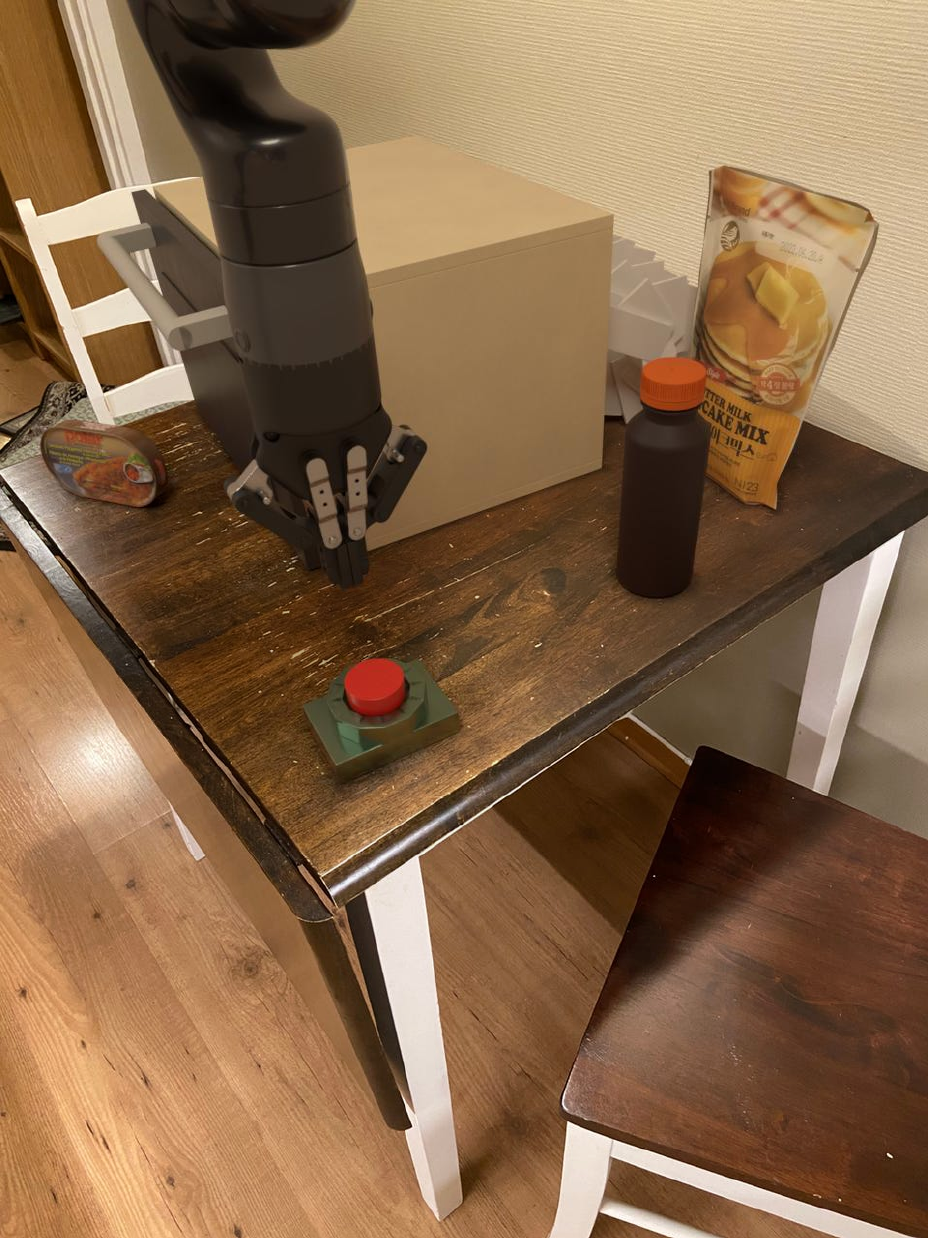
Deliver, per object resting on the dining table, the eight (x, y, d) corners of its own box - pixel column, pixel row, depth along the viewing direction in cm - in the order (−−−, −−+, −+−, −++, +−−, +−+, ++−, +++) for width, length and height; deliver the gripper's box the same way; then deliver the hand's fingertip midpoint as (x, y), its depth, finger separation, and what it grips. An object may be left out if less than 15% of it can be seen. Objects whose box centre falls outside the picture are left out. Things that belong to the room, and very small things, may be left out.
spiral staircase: (593, 374, 121) (687, 450, 102) (480, 342, 113) (561, 418, 94) (650, 239, 113) (765, 293, 94) (533, 194, 105) (633, 244, 86)
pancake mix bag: (704, 424, 101) (739, 155, 83) (820, 505, 87) (892, 205, 69) (654, 439, 99) (679, 167, 81) (764, 524, 85) (824, 220, 67)
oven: (326, 566, 85) (271, 296, 68) (211, 405, 112) (152, 185, 95) (602, 468, 95) (614, 213, 78) (435, 343, 123) (417, 135, 106)
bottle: (600, 573, 81) (610, 369, 68) (652, 545, 84) (672, 343, 71) (654, 609, 77) (676, 399, 64) (707, 578, 80) (739, 370, 67)
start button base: (341, 786, 64) (332, 750, 62) (305, 723, 69) (296, 687, 67) (461, 732, 67) (458, 696, 65) (419, 675, 72) (415, 639, 70)
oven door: (253, 591, 82) (172, 325, 65) (154, 421, 110) (78, 202, 93) (324, 565, 84) (263, 300, 68) (209, 405, 112) (145, 188, 95)
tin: (54, 491, 98) (25, 423, 93) (73, 477, 100) (46, 410, 95) (164, 514, 93) (140, 443, 88) (181, 498, 96) (159, 428, 90)
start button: (361, 725, 64) (358, 708, 63) (338, 688, 67) (335, 671, 66) (416, 702, 65) (413, 685, 64) (391, 667, 68) (388, 650, 67)
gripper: (385, 282, 52) (412, 523, 64) (165, 335, 48) (235, 584, 59) (443, 323, 47) (461, 577, 59) (203, 386, 43) (272, 648, 54)
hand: (347, 580), depth 59 cm, fingers closed
